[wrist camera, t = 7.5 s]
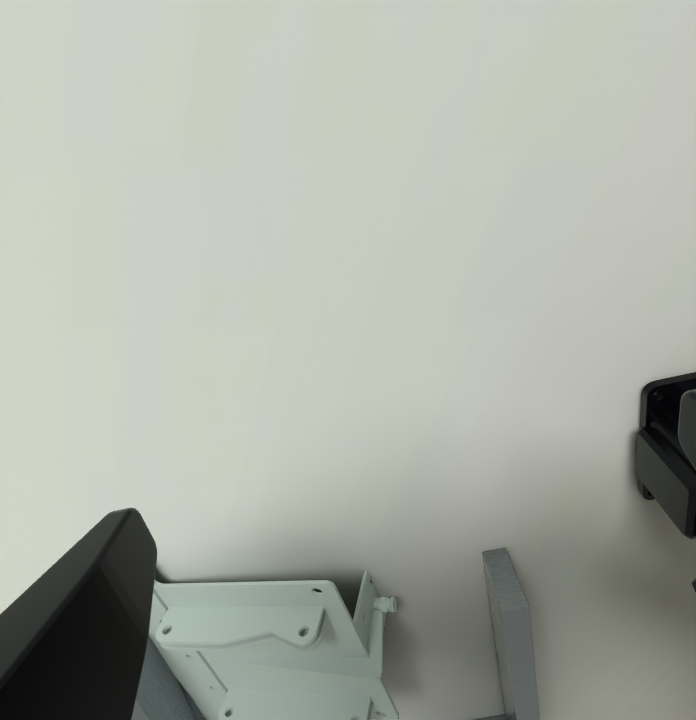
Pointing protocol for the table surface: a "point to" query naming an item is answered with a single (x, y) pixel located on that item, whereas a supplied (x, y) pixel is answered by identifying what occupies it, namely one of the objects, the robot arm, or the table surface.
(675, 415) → the robot arm
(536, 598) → the table surface
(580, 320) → the table surface
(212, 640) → the metal bracket
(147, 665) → the rail dock
